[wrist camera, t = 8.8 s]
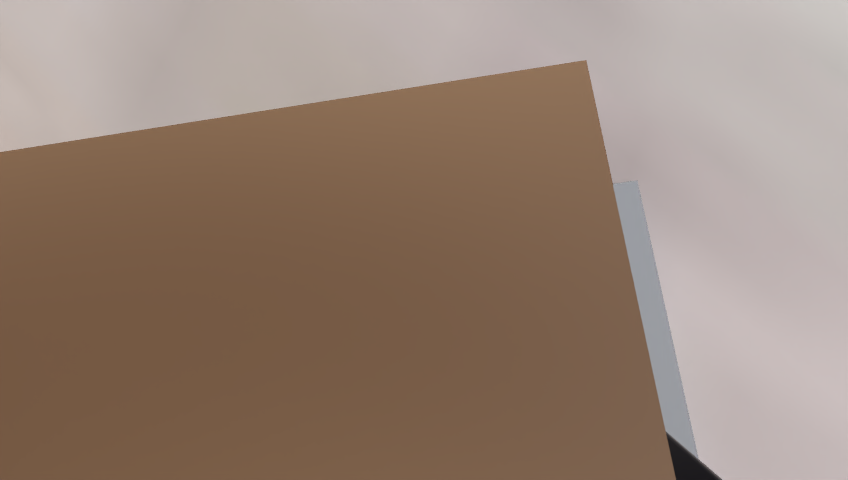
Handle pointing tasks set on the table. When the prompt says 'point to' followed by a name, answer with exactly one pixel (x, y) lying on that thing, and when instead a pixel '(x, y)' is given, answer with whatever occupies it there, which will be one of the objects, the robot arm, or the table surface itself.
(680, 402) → the coaster
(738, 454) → the table surface
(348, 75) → the table surface
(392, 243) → the walnut block
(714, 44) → the table surface
